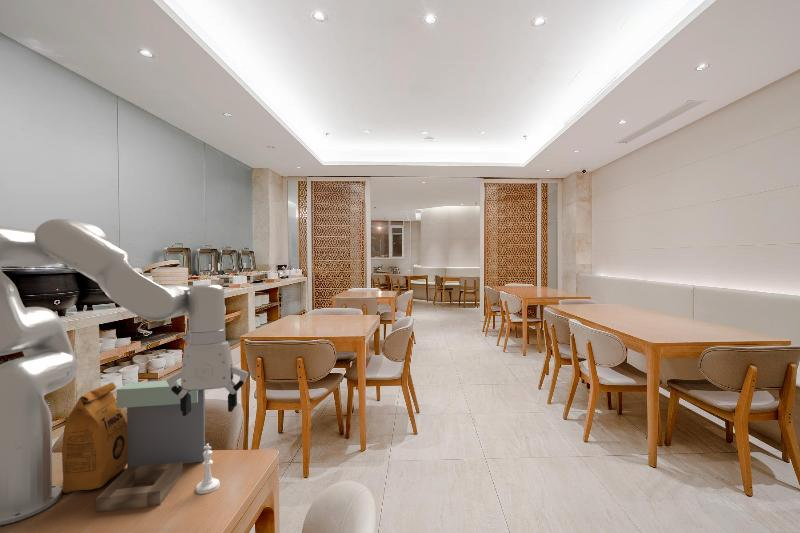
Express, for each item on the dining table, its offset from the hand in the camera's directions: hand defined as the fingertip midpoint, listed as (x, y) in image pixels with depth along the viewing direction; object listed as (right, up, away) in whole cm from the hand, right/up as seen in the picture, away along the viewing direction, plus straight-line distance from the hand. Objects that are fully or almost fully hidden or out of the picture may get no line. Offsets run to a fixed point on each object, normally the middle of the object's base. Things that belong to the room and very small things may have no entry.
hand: (209, 411), depth 85 cm
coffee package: (-29, -18, +4) cm, 34 cm away
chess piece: (0, -18, 0) cm, 18 cm away
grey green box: (-16, -18, +8) cm, 25 cm away
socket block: (-14, -18, -2) cm, 23 cm away
